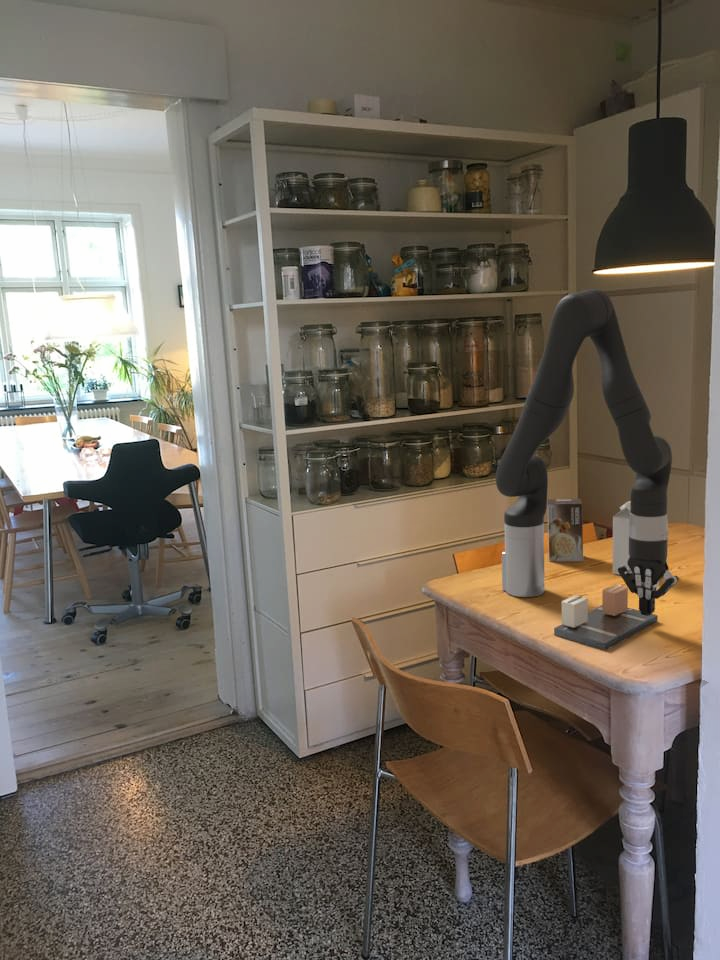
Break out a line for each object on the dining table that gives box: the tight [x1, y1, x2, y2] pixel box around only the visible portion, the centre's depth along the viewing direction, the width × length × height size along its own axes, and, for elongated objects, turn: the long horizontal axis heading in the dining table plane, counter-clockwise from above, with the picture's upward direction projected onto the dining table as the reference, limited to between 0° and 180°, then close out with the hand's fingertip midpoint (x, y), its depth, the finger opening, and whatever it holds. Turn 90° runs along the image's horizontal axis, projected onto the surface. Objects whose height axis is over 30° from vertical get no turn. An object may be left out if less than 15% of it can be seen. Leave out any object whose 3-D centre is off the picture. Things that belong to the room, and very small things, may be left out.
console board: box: [553, 604, 659, 651], centre depth 168 cm, size 12×20×2 cm, turn 131°
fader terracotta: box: [601, 584, 629, 616], centre depth 172 cm, size 3×5×5 cm, turn 131°
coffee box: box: [547, 498, 584, 563], centre depth 215 cm, size 9×6×16 cm
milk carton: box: [612, 500, 631, 576], centre depth 200 cm, size 7×7×19 cm
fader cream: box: [561, 595, 589, 628], centre depth 167 cm, size 3×5×5 cm, turn 131°
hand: (646, 614), depth 167 cm, fingers closed
